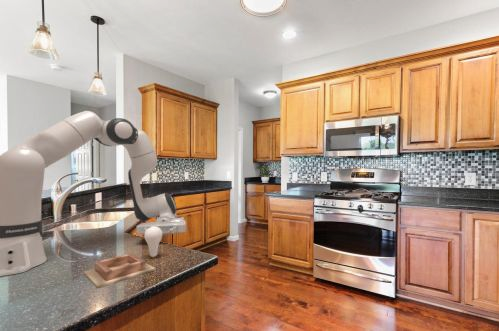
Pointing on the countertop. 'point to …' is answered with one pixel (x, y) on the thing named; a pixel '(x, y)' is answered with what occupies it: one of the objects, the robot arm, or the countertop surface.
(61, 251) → the countertop surface
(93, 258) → the countertop surface
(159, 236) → the lightbulb
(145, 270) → the socket block
